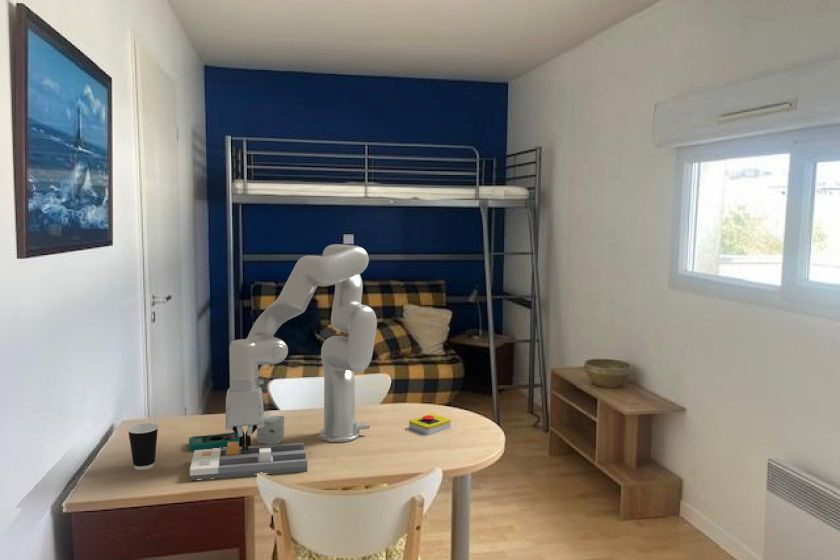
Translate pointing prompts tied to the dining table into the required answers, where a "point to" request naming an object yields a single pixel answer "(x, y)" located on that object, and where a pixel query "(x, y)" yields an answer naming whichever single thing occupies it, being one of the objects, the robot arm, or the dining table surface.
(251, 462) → the switch panel
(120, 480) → the dining table surface
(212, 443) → the digital multimeter
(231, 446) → the tab orange
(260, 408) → the robot arm
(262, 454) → the tab white
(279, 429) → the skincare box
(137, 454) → the dixie cup
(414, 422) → the emergency button
